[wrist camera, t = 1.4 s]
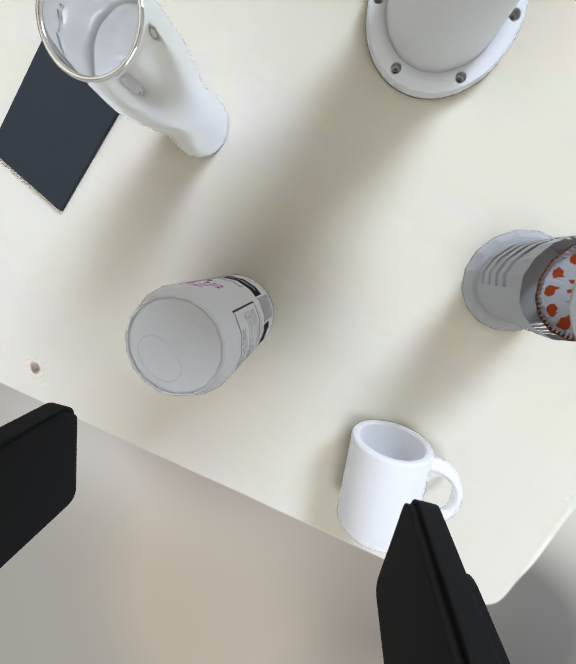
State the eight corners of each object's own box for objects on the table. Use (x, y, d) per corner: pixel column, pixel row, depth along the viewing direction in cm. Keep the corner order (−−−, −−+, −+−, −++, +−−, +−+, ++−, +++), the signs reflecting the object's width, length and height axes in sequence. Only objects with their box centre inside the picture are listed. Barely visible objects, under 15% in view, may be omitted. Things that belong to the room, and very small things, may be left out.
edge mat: (79, -30, 30) (76, -33, 30) (159, 44, 31) (157, 41, 31) (-7, 150, 36) (-11, 149, 35) (62, 211, 36) (59, 210, 36)
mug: (336, 487, 39) (336, 543, 31) (350, 413, 37) (354, 454, 29) (438, 508, 38) (464, 572, 30) (459, 433, 35) (494, 482, 27)
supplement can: (234, 360, 37) (170, 424, 23) (189, 303, 36) (94, 332, 22) (289, 320, 35) (257, 362, 21) (243, 259, 34) (177, 258, 20)
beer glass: (243, 100, 31) (162, -40, 16) (219, 173, 33) (128, 105, 18) (178, 74, 31) (43, -87, 17) (159, 147, 33) (21, 60, 19)
